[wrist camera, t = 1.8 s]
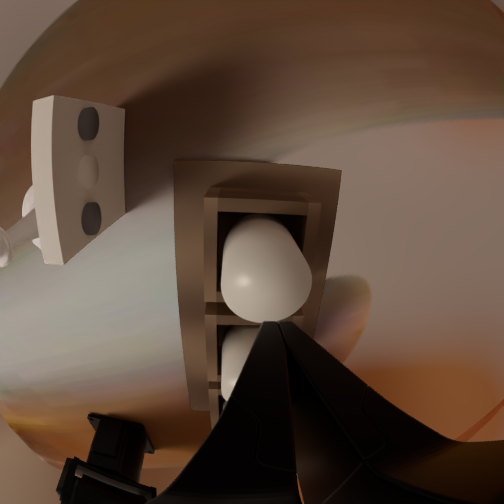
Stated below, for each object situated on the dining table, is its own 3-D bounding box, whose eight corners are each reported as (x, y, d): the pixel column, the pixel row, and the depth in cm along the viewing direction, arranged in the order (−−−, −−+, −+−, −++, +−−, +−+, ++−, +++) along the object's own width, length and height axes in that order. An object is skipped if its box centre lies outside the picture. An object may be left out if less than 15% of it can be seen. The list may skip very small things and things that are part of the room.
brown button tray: (293, 407, 22) (298, 434, 20) (191, 407, 22) (188, 435, 19) (339, 169, 15) (363, 177, 12) (175, 160, 14) (161, 165, 11)
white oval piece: (287, 277, 15) (304, 322, 11) (222, 276, 15) (220, 322, 11) (295, 215, 14) (318, 244, 10) (224, 212, 13) (221, 241, 10)
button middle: (275, 360, 17) (285, 408, 13) (222, 360, 17) (221, 409, 13) (282, 317, 16) (295, 366, 12) (222, 317, 16) (220, 367, 12)
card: (130, 213, 15) (70, 265, 9) (110, 213, 15) (44, 263, 8) (130, 108, 13) (60, 93, 6) (109, 111, 13) (33, 101, 6)
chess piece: (57, 161, 13) (-71, 202, 4) (96, 226, 15) (-11, 320, 6) (17, 204, 14) (-87, 264, 5) (52, 262, 16) (-37, 351, 7)
